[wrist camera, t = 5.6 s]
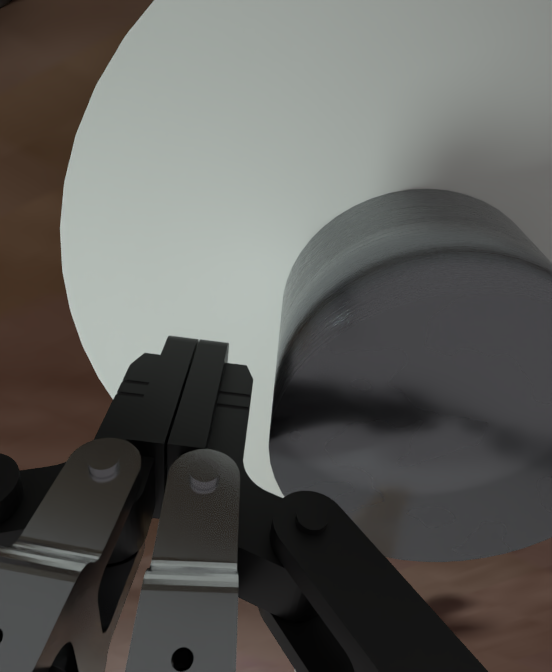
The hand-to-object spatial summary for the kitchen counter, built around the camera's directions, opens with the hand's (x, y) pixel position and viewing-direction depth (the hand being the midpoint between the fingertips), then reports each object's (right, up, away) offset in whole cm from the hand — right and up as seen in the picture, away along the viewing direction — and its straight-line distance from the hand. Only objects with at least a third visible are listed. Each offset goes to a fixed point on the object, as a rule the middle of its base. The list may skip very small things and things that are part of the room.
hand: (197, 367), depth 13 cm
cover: (+6, +2, +3) cm, 7 cm away
